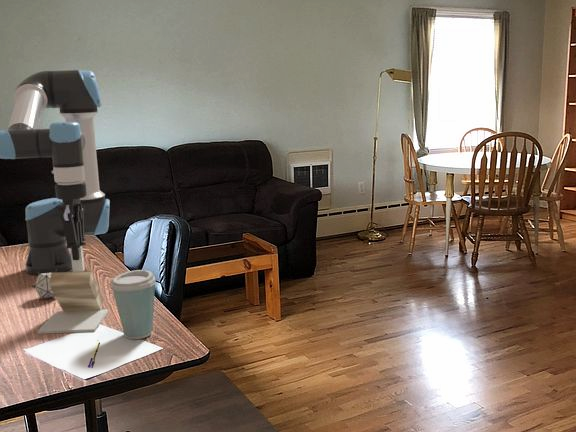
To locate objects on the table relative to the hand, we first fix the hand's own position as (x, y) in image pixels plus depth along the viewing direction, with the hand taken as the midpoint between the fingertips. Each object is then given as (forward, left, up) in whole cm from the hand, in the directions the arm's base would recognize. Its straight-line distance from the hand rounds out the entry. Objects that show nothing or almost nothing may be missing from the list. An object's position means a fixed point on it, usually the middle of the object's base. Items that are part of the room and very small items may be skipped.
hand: (78, 270), depth 165 cm
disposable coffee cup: (+17, +18, -12) cm, 28 cm away
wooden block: (-2, 0, -10) cm, 11 cm away
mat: (+7, 0, -12) cm, 14 cm away
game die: (-13, -13, -12) cm, 22 cm away
